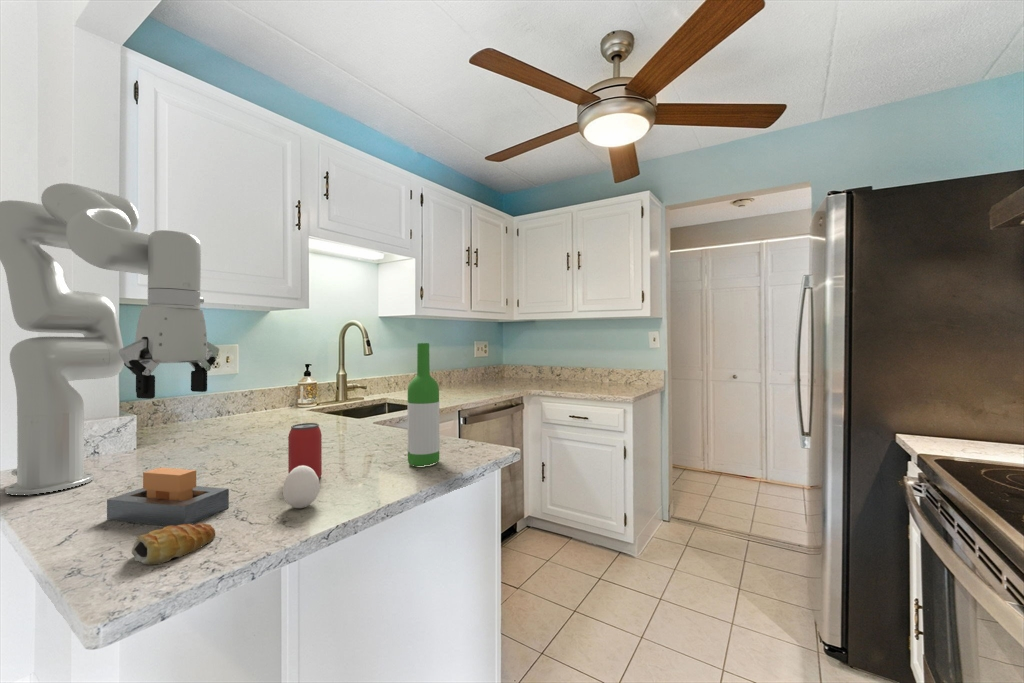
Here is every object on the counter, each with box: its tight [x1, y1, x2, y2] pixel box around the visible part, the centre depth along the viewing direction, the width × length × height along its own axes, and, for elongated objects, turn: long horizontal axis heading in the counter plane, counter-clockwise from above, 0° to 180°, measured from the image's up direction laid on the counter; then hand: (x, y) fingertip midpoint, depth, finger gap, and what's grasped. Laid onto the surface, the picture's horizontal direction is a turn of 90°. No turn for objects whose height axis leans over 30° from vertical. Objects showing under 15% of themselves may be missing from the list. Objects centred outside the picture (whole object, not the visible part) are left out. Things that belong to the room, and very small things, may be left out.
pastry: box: [131, 522, 216, 566], centre depth 62 cm, size 9×7×4 cm
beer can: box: [287, 422, 323, 479], centre depth 93 cm, size 7×7×12 cm
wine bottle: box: [407, 342, 441, 466], centre depth 105 cm, size 8×8×30 cm
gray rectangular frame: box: [106, 485, 230, 527], centre depth 75 cm, size 16×8×4 cm, turn 79°
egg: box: [282, 465, 321, 509], centre depth 77 cm, size 6×6×8 cm
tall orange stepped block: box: [142, 467, 197, 501], centre depth 75 cm, size 8×3×8 cm, turn 78°
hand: (173, 394), depth 77 cm, fingers open, 9 cm apart
